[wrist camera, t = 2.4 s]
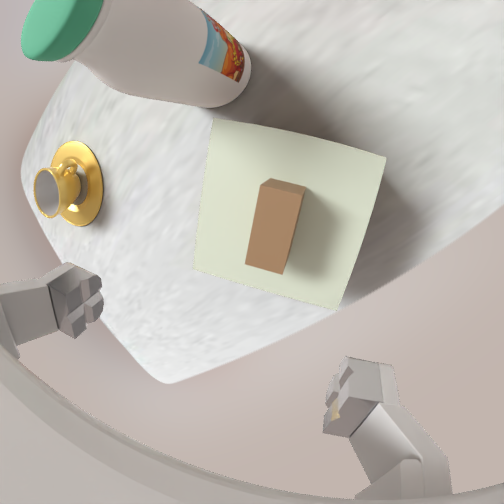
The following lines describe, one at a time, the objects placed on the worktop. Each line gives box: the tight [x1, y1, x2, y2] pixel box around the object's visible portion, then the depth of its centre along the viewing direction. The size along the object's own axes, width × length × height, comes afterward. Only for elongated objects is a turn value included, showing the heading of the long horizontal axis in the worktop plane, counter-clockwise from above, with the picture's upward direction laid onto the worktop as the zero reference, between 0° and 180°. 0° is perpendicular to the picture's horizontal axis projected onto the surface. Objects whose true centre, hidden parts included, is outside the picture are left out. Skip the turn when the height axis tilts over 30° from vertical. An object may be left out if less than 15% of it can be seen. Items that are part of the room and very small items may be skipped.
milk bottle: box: [21, 0, 251, 108], centre depth 15 cm, size 8×8×20 cm
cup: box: [34, 141, 103, 226], centre depth 31 cm, size 12×12×5 cm
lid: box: [193, 118, 387, 311], centre depth 19 cm, size 12×12×4 cm
